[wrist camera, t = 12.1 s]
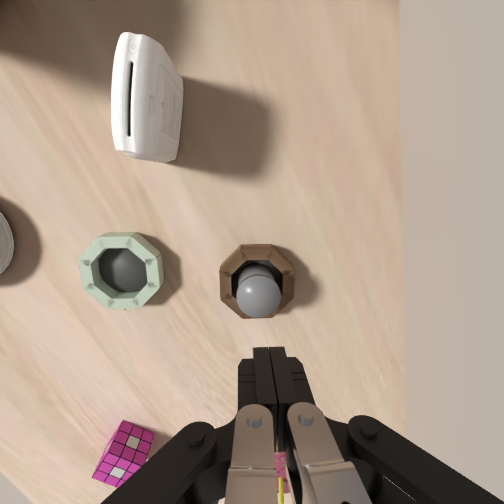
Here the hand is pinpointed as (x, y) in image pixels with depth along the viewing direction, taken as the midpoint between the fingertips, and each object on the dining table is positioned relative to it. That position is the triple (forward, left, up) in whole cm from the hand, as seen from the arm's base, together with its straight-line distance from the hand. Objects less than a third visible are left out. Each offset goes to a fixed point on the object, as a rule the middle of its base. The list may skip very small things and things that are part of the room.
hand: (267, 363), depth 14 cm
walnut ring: (+6, +1, -27) cm, 28 cm away
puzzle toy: (+34, -20, -27) cm, 48 cm away
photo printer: (-15, -10, -27) cm, 33 cm away
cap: (+6, +1, -26) cm, 27 cm away
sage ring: (+4, -17, -27) cm, 32 cm away
